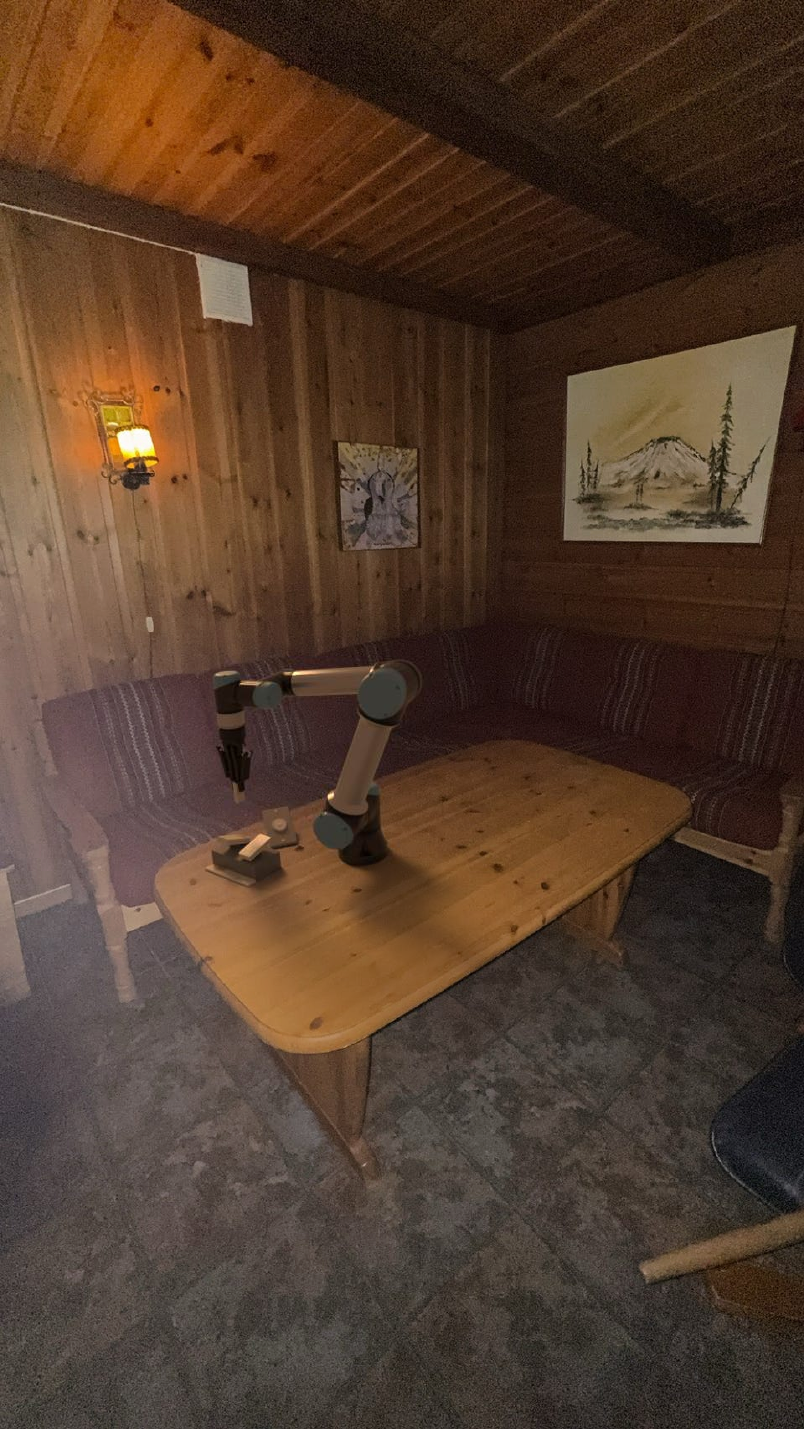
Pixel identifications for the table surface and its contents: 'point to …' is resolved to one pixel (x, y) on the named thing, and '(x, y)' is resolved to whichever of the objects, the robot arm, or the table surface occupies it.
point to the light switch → (279, 827)
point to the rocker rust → (233, 839)
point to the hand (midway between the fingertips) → (239, 800)
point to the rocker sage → (255, 847)
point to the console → (243, 864)
